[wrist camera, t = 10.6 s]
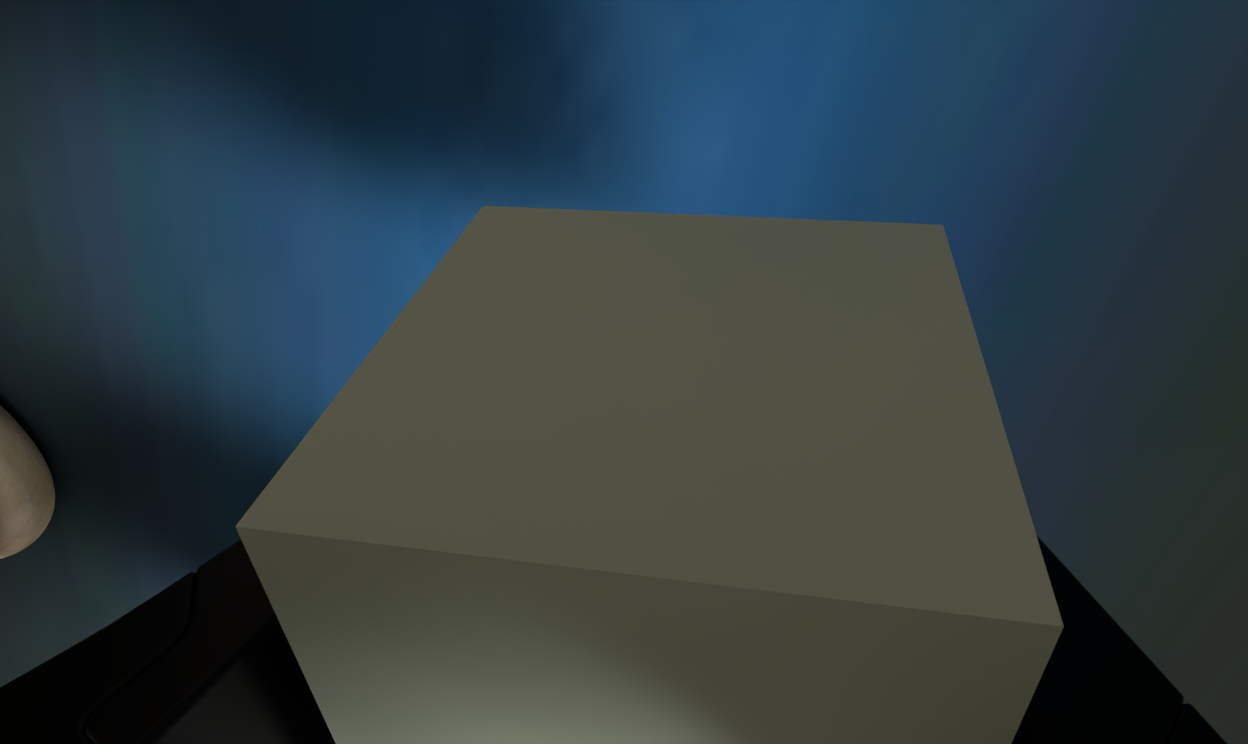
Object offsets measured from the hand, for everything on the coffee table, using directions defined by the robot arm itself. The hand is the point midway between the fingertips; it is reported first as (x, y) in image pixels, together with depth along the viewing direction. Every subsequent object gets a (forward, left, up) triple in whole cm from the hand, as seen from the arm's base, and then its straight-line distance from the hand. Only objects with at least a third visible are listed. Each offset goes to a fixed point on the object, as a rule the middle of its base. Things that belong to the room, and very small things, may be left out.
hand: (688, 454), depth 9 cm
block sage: (0, 0, -1) cm, 1 cm away
